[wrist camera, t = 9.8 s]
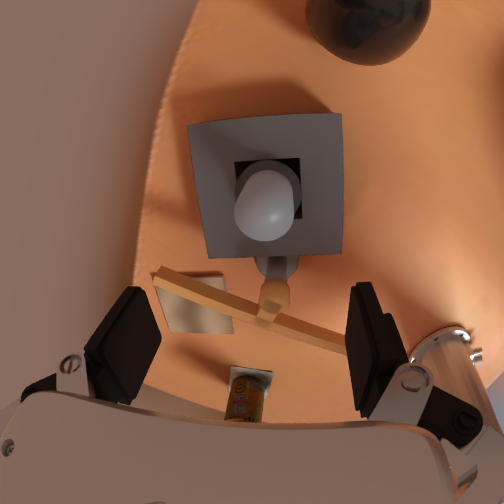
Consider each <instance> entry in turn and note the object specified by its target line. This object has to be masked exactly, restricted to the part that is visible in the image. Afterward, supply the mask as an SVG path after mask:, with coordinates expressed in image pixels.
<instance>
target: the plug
mask: <svg viewBox="0 0 504 504" xmlns="http://www.w3.org/2000/svg"><path fill="white" fill-rule="evenodd" d="M301 197H302V190H301V185H300V181H299V179H298V177H297V175H296V174H295V172H294V171H293V170H292V169H291V168H290V167H289V166H287V165H286V164H284V163H283V162H281V161H279V160H275V159H267V160H261V161H257V162H255V163H253V164H251V165H249V166H248V167H247V168H246V169H245V170H244V171H243V172H242V173H241V175H240V176H239V178H238V180H237V183H236V187H235V198H236V203H235V207H234V218H235V221H236V224H237V226H238V227H239V229H240V230H241V231H242V232H243V233H244V234H245V235H247V236H248V237H250V238H252V239H254V240H258V241H272V240H275V239H278V238H280V237H281V236H283V235H284V234H285V233H286V232H287V231H288V230H289V229H290V227H291V225H292V223H293V219H294V213H295V212H296V211H297V209H298V207H299V205H300V202H301Z"/></svg>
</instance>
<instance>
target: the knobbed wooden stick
mask: <svg viewBox="0 0 504 504" xmlns="http://www.w3.org/2000/svg"><path fill="white" fill-rule="evenodd" d="M153 285H155V286H157V287H160V288H162V289H164V290H167V291H169V292H171V293H174V294H176V295H179V296H181V297H183V298H186V299H188V300H191V301H193V302H196V303H198V304H201V305H203V306H206V307H208V308H211V309H213V310H216V311H218V312H221V313H223V314H226V315H229V316H231V317H234V318H237V319H239V320H242V321H245V322H247V323H250V324H253V325H256V326H258V327H261V328H264V329H267V330H270V331H272V332H275V333H278V334H281V335H284V336H287V337H290V338H293V339H296V340H299V341H302V342H305V343H308V344H311V345H314V346H317V347H321V348H324V349H327V350H330V351H333V352H337V353H340V354H343V355H347V352H346V346H345V335H342V334H340V333H337V332H334V331H331V330H328V329H325V328H322V327H319V326H316V325H313V324H310V323H308V322H305V321H302V320H299V319H296V318H294V317H291V316H288V315H285V314H283V313H282V312H284V311H286V310H287V309H288V307H289V305H290V288H289V285H288V284H287V283H286V282H285V281H284V280H282V279H278V278H272V279H269V280H267V281H265V282H264V283H263V284H262V286H261V291H260V298H259V303H258V304H256V303H253V302H250V301H248V300H245V299H243V298H240V297H237V296H235V295H232V294H230V293H227V292H225V291H222V290H220V289H217V288H215V287H212V286H210V285H207V284H205V283H202V282H200V281H197V280H195V279H192V278H190V277H188V276H185V275H183V274H180V273H178V272H176V271H173V270H171V269H168V268H166V267H164V266H161V267H160V269H159V270H158V271H157V273H156V274H155V276H154V280H153Z"/></svg>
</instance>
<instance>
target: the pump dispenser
mask: <svg viewBox="0 0 504 504" xmlns="http://www.w3.org/2000/svg"><path fill="white" fill-rule="evenodd" d="M430 10H431V0H307V1H306V7H305V13H306V20H307V23H308V26H309V28H310V30H311V32H312V34H313V35H314V37H315V38H316V39H317V40H318V42H319V43H320V44H321V45H322V46H323V47H324V48H326V49H327V50H328V51H329V52H331V53H332V54H334V55H335V56H337V57H339V58H341V59H343V60H345V61H348V62H351V63H354V64H358V65H365V66H376V65H382V64H386V63H389V62H391V61H393V60H395V59H397V58H399V57H400V56H402V55H403V54H404V53H405V52H406V51H407V50H408V49H409V48H410V47H411V46H412V45H413V44H414V43H415V42H416V41H417V39H418V38H419V36H420V35H421V33H422V31H423V29H424V28H425V26H426V23H427V21H428V18H429V15H430Z"/></svg>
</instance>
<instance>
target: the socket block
mask: <svg viewBox="0 0 504 504" xmlns="http://www.w3.org/2000/svg"><path fill="white" fill-rule="evenodd" d="M187 131H188V139H189V145H190V152H191V159H192V166H193V172H194V178H195V185H196V191H197V197H198V203H199V208H200V214H201V220H202V226H203V231H204V237H205V242H206V247H207V253H208V258H209V259H213V258H243V257H257V260H256V262H257V267H258V269H259V271H260V272H261V273H262V274H263V275H265V281H267V280H269V279H272V278H278V279H282V280H284V281H285V282H286V283H287V277H289V276H291V275H292V274H293V273H294V272H295V270H296V269H297V266H298V256H300V255H326V254H342V237H343V197H344V174H343V134H342V115H341V114H339V113H295V114H276V115H262V116H251V117H241V118H232V119H223V120H215V121H208V122H201V123H196V124H192V125H188V126H187ZM281 158H298V165H299V181H300V185H301V190H302V197H301V202H300V205H299V207H298V209H297V211H296V212H295V213H294V219H293V223H292V225H291V227H290V229H289V230H288V231H287V232H286V233H285V234H284V235H283V236H281V237H280V238H278V239H275V240H272V241H258V240H254V239H252V238H250V237H248V236H247V235H245V234H244V233H243V232H242V231H241V230H240V229H239V227H238V226H237V224H236V221H235V218H234V207H235V203H236V198H235V187H236V183H237V180H238V178H239V176H240V175H241V173H242V172H243V167H242V161H251V160H265V159H281Z"/></svg>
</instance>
